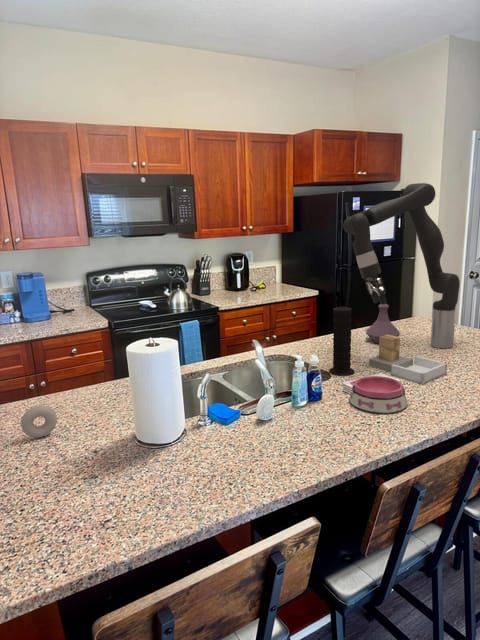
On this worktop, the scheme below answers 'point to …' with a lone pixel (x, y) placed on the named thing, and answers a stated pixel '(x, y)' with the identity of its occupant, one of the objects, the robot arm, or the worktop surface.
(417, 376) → the tray
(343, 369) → the handle grip
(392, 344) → the oak block
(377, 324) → the flask
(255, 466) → the worktop surface
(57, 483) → the worktop surface
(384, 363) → the grey square slab
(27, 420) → the donut
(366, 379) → the dog bowl
